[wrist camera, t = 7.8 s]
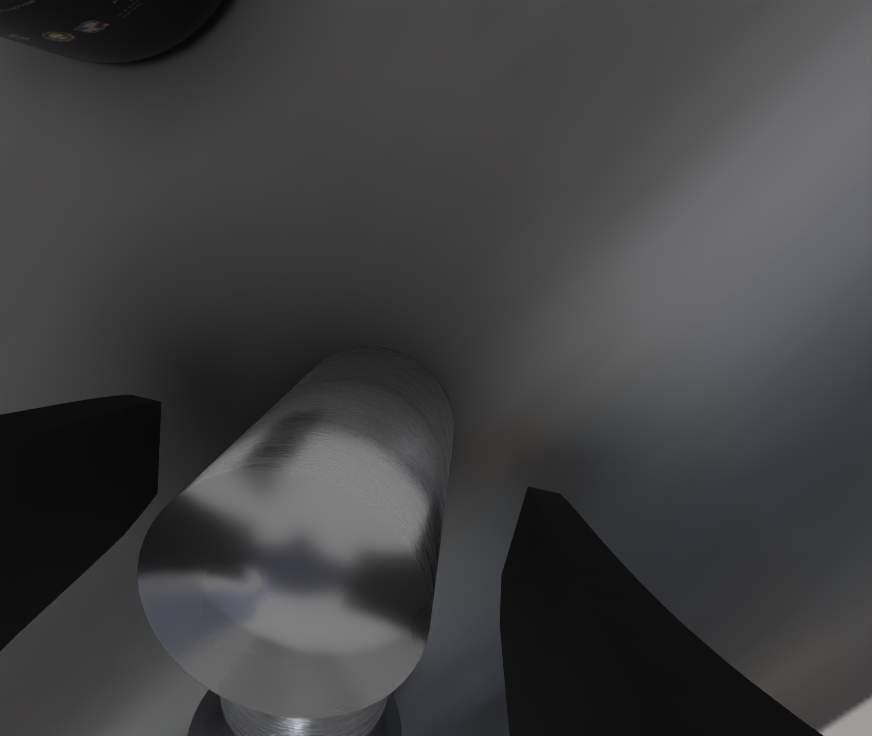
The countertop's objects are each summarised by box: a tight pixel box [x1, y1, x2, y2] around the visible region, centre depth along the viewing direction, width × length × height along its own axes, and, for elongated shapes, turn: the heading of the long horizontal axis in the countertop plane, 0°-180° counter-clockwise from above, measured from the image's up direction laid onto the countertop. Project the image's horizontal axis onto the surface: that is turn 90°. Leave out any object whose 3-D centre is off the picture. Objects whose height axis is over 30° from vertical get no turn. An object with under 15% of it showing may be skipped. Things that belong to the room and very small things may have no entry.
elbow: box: [138, 347, 454, 736], centre depth 10 cm, size 8×4×6 cm, turn 166°
